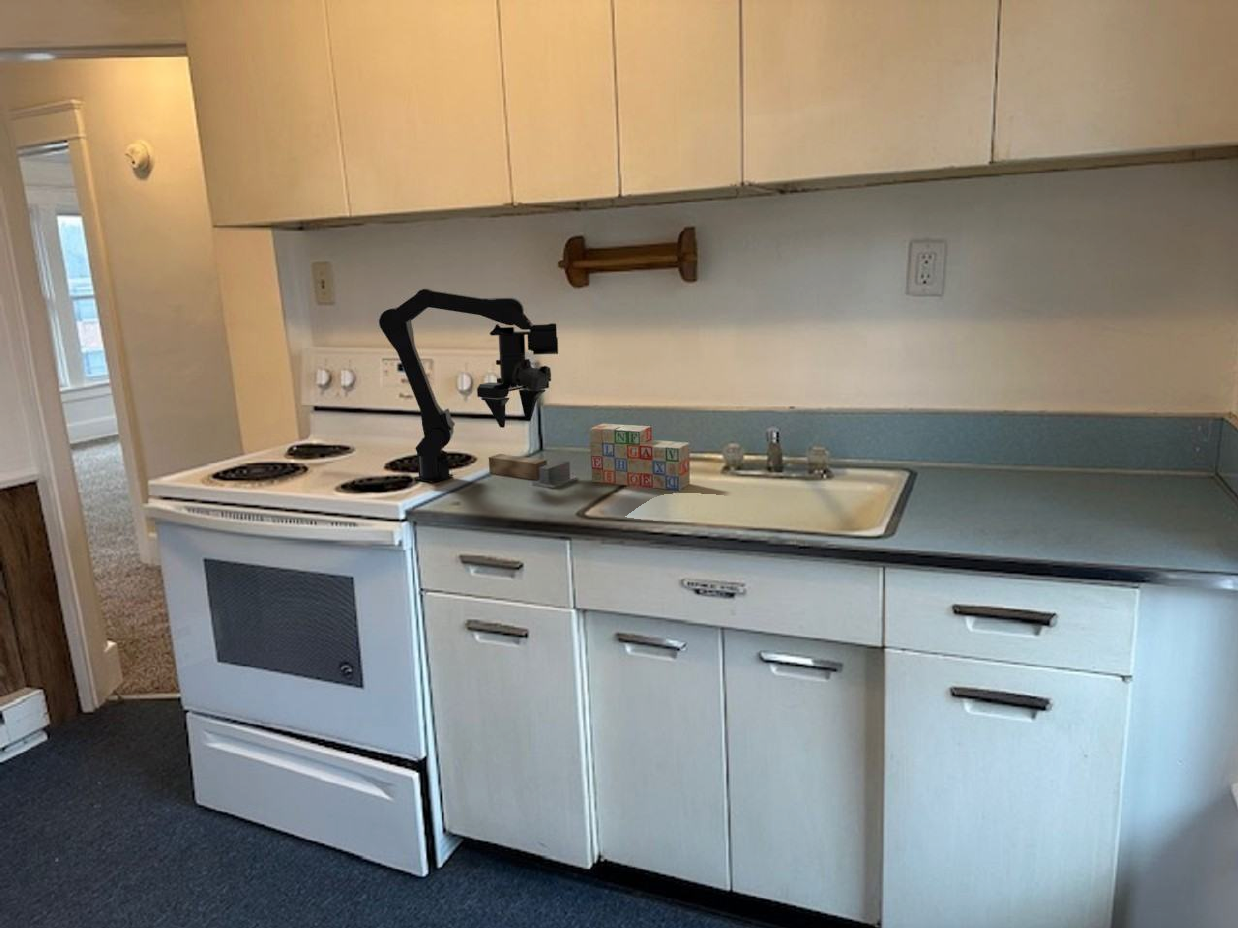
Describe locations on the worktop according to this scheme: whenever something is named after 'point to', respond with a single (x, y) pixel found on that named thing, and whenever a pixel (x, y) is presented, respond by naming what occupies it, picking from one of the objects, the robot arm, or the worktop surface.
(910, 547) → the worktop surface
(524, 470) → the bar
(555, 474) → the ridge
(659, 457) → the stack of blocks
